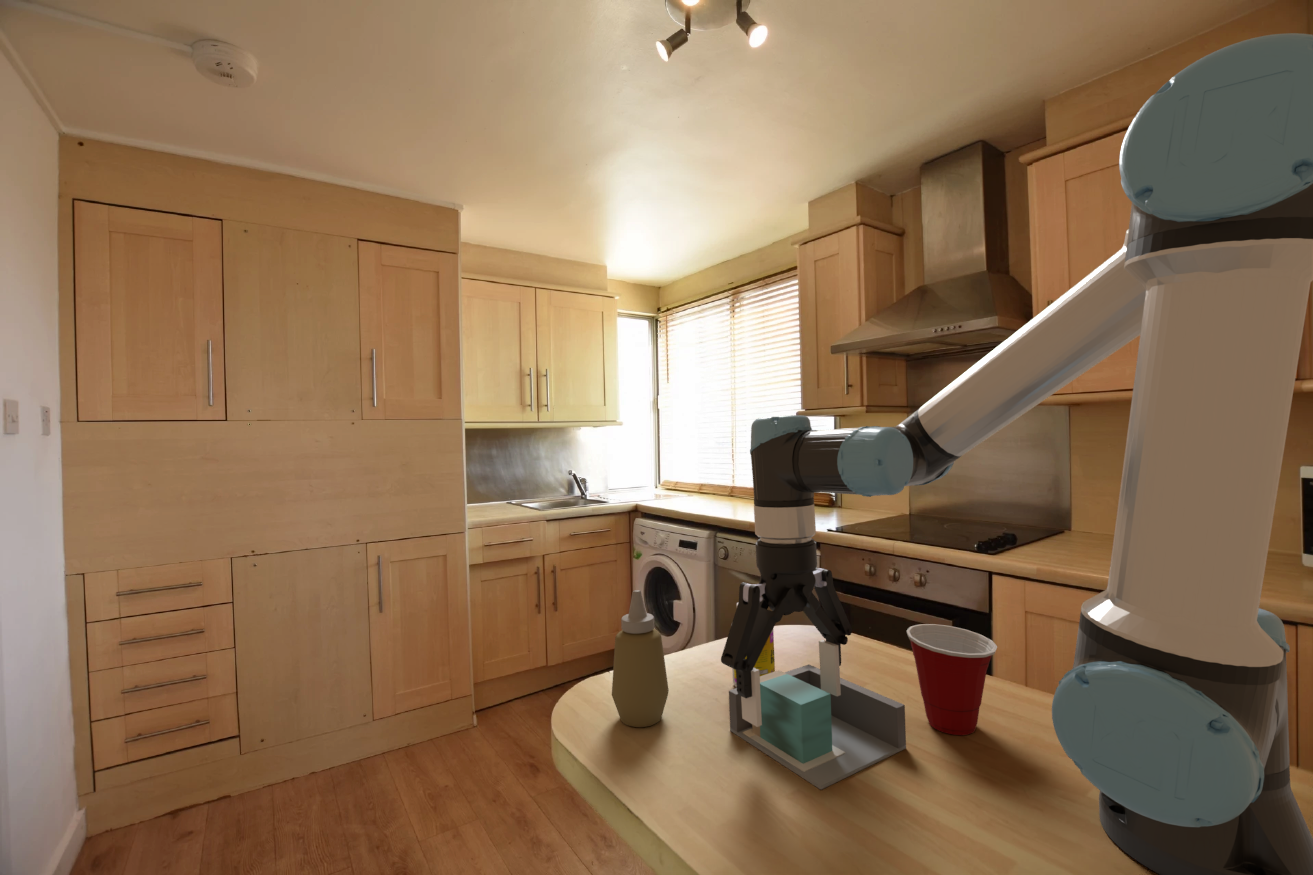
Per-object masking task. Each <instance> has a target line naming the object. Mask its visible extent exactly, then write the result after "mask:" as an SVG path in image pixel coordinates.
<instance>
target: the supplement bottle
mask: <svg viewBox="0 0 1313 875" xmlns="http://www.w3.org/2000/svg"><path fill="white" fill-rule="evenodd" d="M737 606H738V602H736V607H737ZM731 625H732V623H731ZM731 625H730V626H731ZM774 637H775V636H774V629H773V630H772V632H771V634H770V636H769V638H768V640H767V642H766V644H765V646H764V648H763V650H762V652H761V654H760V656H759V658H758V660H757V662H756V664H755V666H754V668H756V669H758V670H759V675H760V676H763V675H766V674H769V673H772V672H775V671H776V669H775V668H776V666H775V642H774V641H775V640H774ZM746 658H747V656H746ZM746 658H745V659H746ZM731 669H732V683H733V686H735V688H737V682H736V670H735V669H733V668H731Z"/></svg>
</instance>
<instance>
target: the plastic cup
mask: <svg viewBox="0 0 1313 875" xmlns="http://www.w3.org/2000/svg"><path fill="white" fill-rule="evenodd" d="M906 634H907V637H908V639H909V641H910V647H911V648H912V653H913V654H912V655H913V657H914V662H915V663H914V664H915V666H916V667H915V668H916V673H917V679H918V683H919V690H920V694H921V697H922V701H923V704H924V709H925V716H926V718H927V721H928V723H929V726H930V727H932V728H933V729H935V730H937V731H939V732H942V733H943V734H944V733H945V734H949V735H954V736H967V735H971V734H973V733H975V730H976V728H977V725H978V722H979V721H978V720H979V713H980V707H981V704H982V700H983V694H984V688H985V683H986V678H987V670H988V668H989V664H990V661H991V659H992V656H993V655H995V653H996V651H997V648H998V646H997V644H996V643H995V642H994V641H993V640H992V639H990V638H989V637H986V636H984V635H982V634H980V633H978V632H974V631H971V630H969V629H965V628H961V627H956V626H952V625H944V624H935V623H930V624H929V623H925V624H921V623H920V624H915V625H912V626H909V627H908V628H907V630H906Z"/></svg>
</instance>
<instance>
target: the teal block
mask: <svg viewBox="0 0 1313 875" xmlns="http://www.w3.org/2000/svg"><path fill="white" fill-rule="evenodd" d="M760 696H761V717H762V725H761V726H758V727H756V726H755V725H753V724H752V728H753V733H754V734H756V735H757V736H759V737H761V738H762V739H764V740H765V741H767V742H769V743H770V744H772V745H774V746H775V747H777V748H778V749H780V750H782V751H783V752H785V753H786V754H788V755H790V756H791V757H793V758H794V759H796V760H798V761H799V762H801V763H802V764H804V763H806V762H808V761H811V760H813V759H815V758H817V757H820V756H822V755H824V754H826V753H829V752H831V751H832V723H831V694H830V693H828V692H825V691H823V690H821V689H819V688H817V687H815V686H812V685H810V684H808V683H806V682H804V681H801V680H799V679H797V678H795V677H793V676H791V675H788V674H786V673H784V671H782V670H780V669H778V670H775V672H772V673H769V674H766V675H763V676H760Z"/></svg>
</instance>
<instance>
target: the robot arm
mask: <svg viewBox="0 0 1313 875" xmlns="http://www.w3.org/2000/svg"><path fill="white" fill-rule="evenodd" d="M1118 157H1119V161H1118V167H1119V174H1120V178H1121V179H1120V184H1121V187H1122V190H1123V192H1124V194H1125V195H1126V197H1127V198H1128V200H1129V201H1130V202H1131V205H1130V216H1129V223H1128V229H1127V230H1126V231H1125V237H1124V242H1123V245H1122V247H1121V248H1120V249H1119V250H1118V251H1116V252H1115V253H1113V254H1112V256H1110V257H1109V258H1108V259H1106V260H1105V261H1104V262H1102V264H1099V266H1097V267H1096V268H1095V269H1094V270H1092V271H1091V272H1090V273H1088V274H1087V275H1086V276H1085V277H1083V278H1082V279H1081V280H1080V281H1078V282H1077V283H1076V284H1075V285H1073V286H1072V287H1071V288H1070V289H1068V290H1067V291H1066V292H1064V293H1063V294H1062V295H1060V296H1059V298H1057V299H1055V300H1054V301H1053V302H1051V304H1049V305H1048V306H1047V307H1045V309H1043V310H1042V311H1040V312H1039V313H1038V314H1037V315H1035V316H1034V317H1032V318H1031V319H1030V320H1029V321H1028V322H1027V323H1025V324H1024V325H1023V326H1022V327H1020V328H1019V329H1018V330H1016V331H1015V332H1014V333H1013V334H1012V335H1011V334H1010V336H1009V337H1008V338H1007V339H1005V340H1003V341H1002V342H1001V343H1000V344H998V345H997V346H996V347H995V348H993V350H991V351H990V352H988V353H987V354H986V355H985V356H983V357H982V358H981V359H980V360H978V361H977V362H975V363H974V364H973V365H972V366H971V367H969V368H968V369H967V370H966V371H964V372H963V373H962V374H961V375H959V376H958V377H957V378H955V379H954V380H953V381H951V383H949V384H948V385H947V386H946V387H944V388H943V389H942V390H940V391H939V392H938V393H937V394H935V395H934V396H933V397H932V398H930V399H929V400H928V401H926V402H925V403H924V404H923V405H922V406H920V407H919V408H918V409H917V410H916V411H914V412H912V414H910V415H909V416H908V417H907V418H905V419H904V420H902V421H901V422H900V423H898V424H897V425H895V426H880V425H879V426H878V425H872V426H868V425H866V426H859V427H849V428H837V429H835V428H834V429H823V430H821V429H820V430H816V429H813V428H812V426H811V425H812V424H811V420H810V418H809V417H808V416H807V415H803V414H802V415H800V414H799V415H780V416H779V415H778V416H763V417H758V418H756V419H755V420H754V421H752V424H751V427H750V449H749V454H750V461H751V472H752V484H753V485H752V486H753V487H752V488H753V514H754V519H753V520H754V534H755V535H756V536H757V537H758V538H759V539H757V540H756V542H755V544H754V545H755V559H756V560H755V561H756V562H755V564H756V567H757V569H758V571H759V574H760V579H759V582H758V583H755V584H751V583H747V582H744V581H743V582H741V583H740V585H739V590H738V602H737V603H738V606H737V605H736V610H735V613H734V615H733V619H732V622H731V624H732V625H730V628H729V632H728V635H727V638H726V642H725V644H724V648H723V651H722V654H721V658H720V662H721V664H723V665H725V666H726V667H729V668H731V669H732V668H733V669H735V670H736V682H737V687H736V688H737V692H738V695H740V696H741V702H742V719H744V720H746V721H748V722H749V723H751V724H753V725H755V726H756V727H758V726H761V725H762V717H761V696H760V675H759V670H758V669H756V668H754V666H755V664H756V662H757V660H758V658H759V656H760V654H761V652H762V650H763V648H764V646H765V644H766V642H767V640H768V638H769V636H770V634H771V632H772V630H773V631H774V627H775V626H776V624H777V623H779V622H781V620H782V618H783V616H784V617H785V616H789V615H791V614H793V613H794V612H796V613H801V612H803V613H804V614H805V616H806V617H807V618H808V619H809V621H810V622H811V623H812V625H813V626H814V627H815V628H816V630H817V631H818V632H819V633H820V635H821V636H822V637H823V639H821V640H818V652H819V654H818V655H819V656H818V658H819V669H820V679H821V690H823V691H825V692H828V693H830V694H832V695H835V696H839V695H841V689H840V678H841V676H840V675H841V670H840V667H841V666H842V647H841V646H842V645H843V646H846V644H848V642H849V639H848V636H849V637H850V636H851V635H852V633H853V628H852V625H851V622H850V621H849V619H848V615H847V614H846V612H845V610H844V606H843V605H842V602H841V600H840V597H839V595H838V593H837V591H836V588H835V586H834V580H833V579H834V578H833V573H832V571H831V570H830V569H826V568H821V567H818V553H817V541H815V539H814V538H813V537H814V536H815V535H817V530H816V512H815V510H816V509H815V498H814V497H815V494H817V493H824V494H825V493H826V494H827V493H828V494H839V495H840V494H842V495H843V494H844V495H858V496H859V495H861V496H863V497H865V498H866V497H867V498H870V497H874V496H880V497H881V496H894V495H897V494H900V493H901V492H902V491H903V490H904V489H905V487H910V486H924V485H929V484H930V483H932V482H935V481H938V480H940V479H943V477H945V476H946V475H947V474H948V473H950V471H951V469H952V468H953V466H954V463H955V462H956V461H957V460H958V459H960V458H962V457H963V456H964V455H965V454H967V453H968V452H970V451H972V449H974V448H975V447H977V446H978V445H980V444H981V443H983V442H985V441H986V440H988V439H989V438H990V437H992V436H993V435H995V434H996V433H997V432H998V433H999V431H1001V430H1002V429H1004V428H1005V427H1007V426H1009V425H1010V424H1011V423H1013V422H1014V421H1016V420H1017V419H1019V418H1020V417H1021V416H1022V415H1025V414H1026V413H1028V412H1029V411H1030V410H1032V409H1033V408H1034V407H1036V406H1038V405H1039V404H1041V403H1042V402H1043V401H1045V400H1046V399H1048V398H1049V397H1051V396H1053V395H1055V393H1056V392H1058V391H1059V390H1061V389H1063V388H1064V387H1066V386H1067V385H1069V384H1070V383H1071V382H1073V381H1074V380H1076V379H1077V378H1079V377H1080V376H1082V375H1083V374H1085V373H1087V372H1088V371H1090V370H1091V369H1092V368H1094V367H1095V366H1096V365H1098V364H1100V363H1101V362H1103V361H1104V360H1105V359H1107V358H1108V357H1110V356H1112V355H1113V354H1114V353H1116V352H1117V351H1119V350H1121V349H1122V348H1123V347H1125V346H1126V345H1128V344H1129V343H1130V342H1132V341H1133V340H1135V339H1136V338H1138V337H1139V342H1138V350H1137V358H1136V367H1135V373H1134V381H1133V388H1132V397H1131V404H1130V411H1129V419H1128V420H1129V421H1128V427H1127V434H1126V442H1125V450H1124V456H1123V457H1124V458H1123V463H1122V464H1123V466H1122V472H1121V474H1122V475H1121V481H1120V489H1119V495H1118V504H1117V510H1116V511H1117V512H1116V519H1115V526H1114V527H1115V528H1114V532H1113V533H1114V534H1113V540H1112V542H1113V543H1112V550H1111V557H1110V558H1111V559H1110V565H1109V572H1108V580H1107V587H1106V589H1105V590H1103V591H1101V592H1100V593H1098V594H1096V595H1093V596H1092V597H1090V598H1088V599H1086V600H1084V601H1083V602H1082V603H1081V604H1082V605H1081V607H1080V615H1079V623H1078V630H1077V636H1076V644H1075V653H1074V660H1073V665H1072V668H1071V669H1070V670H1068V671H1067V672H1066V673H1064V675H1063V676H1062V678H1061V680H1059V681H1058V686H1057V687H1056V689H1055V692H1054V695H1053V698H1052V704H1051V719H1052V720H1051V721H1052V724H1053V729H1054V731H1055V732H1054V733H1055V735H1056V737H1057V740H1058V742H1059V744H1060V746H1061V747H1062V749H1063V751H1064V753H1065V754H1066V756H1067V757H1068V758H1069V759H1071V760H1072V762H1073V763H1074V765H1075V766H1076V767H1077V769H1079V771H1080V773H1081V775H1083V777H1085V779H1087V781H1089V782H1090V783H1091V784H1092V785H1093V786H1094V787H1095V788H1096V789H1098V790H1099V795H1098V808H1099V809H1098V810H1099V812H1098V813H1099V822H1100V823H1101V827H1102V828H1103V830H1104V831H1105V833H1106V834H1107V835H1108V837H1109V839H1111V841H1113V842H1114V843H1115V844H1116V845H1117V846H1118V847H1119V848H1120V849H1121V850H1122V851H1123V852H1124V853H1126V854H1128V856H1130V857H1131V858H1133V859H1134V860H1135V861H1137V862H1138V863H1140V864H1141V865H1143V866H1144V867H1146V868H1148V869H1149V870H1150V871H1153V872H1155V873H1156V874H1158V875H1313V835H1312V833H1311V831H1310V829H1309V827H1308V824H1307V822H1306V819H1305V817H1304V815H1303V813H1302V811H1301V808H1300V807H1299V804H1298V801H1297V800H1296V798H1295V795H1294V793H1293V790H1292V788H1291V774H1290V773H1291V771H1290V769H1291V768H1290V763H1291V762H1290V741H1289V740H1290V738H1289V736H1290V735H1289V733H1290V732H1289V703H1288V674H1287V668H1288V667H1287V653H1290V648H1291V647H1290V644H1289V643H1288V642H1287V640H1286V632H1285V630H1286V629H1285V626H1284V623H1283V621H1282V619H1281V618H1279V616H1278V615H1276V614H1275V613H1273V612H1271V611H1268V610H1266V609H1262V608H1261V607H1260V603H1261V597H1262V590H1263V583H1264V577H1265V573H1266V566H1267V560H1268V559H1267V558H1268V552H1269V548H1270V541H1271V540H1270V539H1271V534H1272V528H1273V520H1274V516H1275V508H1276V502H1277V495H1278V489H1279V485H1280V477H1281V473H1282V472H1281V470H1282V466H1283V465H1282V464H1283V459H1284V452H1285V446H1286V440H1287V433H1288V428H1289V420H1290V415H1291V408H1292V403H1293V402H1292V401H1293V394H1294V388H1295V384H1296V383H1295V382H1296V377H1297V370H1298V366H1299V357H1300V353H1301V352H1300V351H1301V345H1302V339H1303V334H1304V328H1305V327H1304V325H1305V321H1306V314H1307V307H1308V301H1309V294H1310V288H1311V283H1312V282H1313V34H1311V33H1310V34H1309V33H1297V32H1293V33H1291V32H1289V33H1287V32H1286V33H1275V34H1268V35H1263V36H1262V35H1261V36H1257V37H1251V38H1250V39H1249V38H1248V39H1245V40H1242V41H1238V42H1235V43H1232V44H1229V45H1227V46H1225V47H1222V48H1220V49H1218V50H1215V51H1213V52H1210V53H1209V54H1207V55H1204V56H1203V57H1201V58H1200V59H1197V60H1195V61H1194V62H1192V63H1191V64H1189V65H1188V66H1186V67H1185V68H1183V69H1182V70H1180V71H1179V72H1177V73H1176V74H1175V75H1174V76H1172V77H1171V78H1170V79H1169V80H1168V81H1167V82H1165V83H1164V84H1163V85H1162V86H1161V87H1160V88H1159V89H1158V90H1157V91H1156V92H1155V93H1153V95H1151V96H1150V97H1149V98H1148V99H1147V100H1146V102H1144V104H1143V105H1142V107H1140V109H1139V110H1138V112H1137V113H1136V115H1135V116H1134V118H1133V119H1132V121H1131V123H1130V124H1129V126H1128V128H1127V130H1126V133H1125V134H1124V137H1123V140H1122V143H1121V147H1120V151H1119V156H1118ZM813 589H814V591H815V593H816V595H817V596H816V595H815V594H814V593H813ZM821 606H822V607H821ZM824 639H825V640H824ZM746 656H747V658H746ZM745 658H746V659H745Z"/></svg>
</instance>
